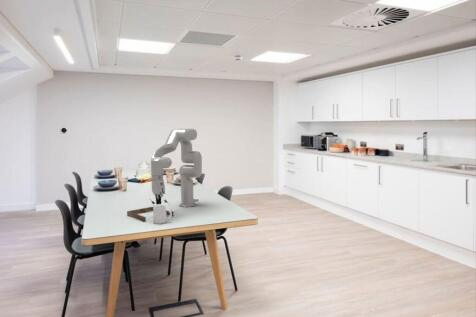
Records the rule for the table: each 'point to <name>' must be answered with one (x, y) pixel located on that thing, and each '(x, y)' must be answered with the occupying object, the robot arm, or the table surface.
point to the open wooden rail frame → (135, 212)
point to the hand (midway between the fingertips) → (158, 204)
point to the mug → (160, 214)
